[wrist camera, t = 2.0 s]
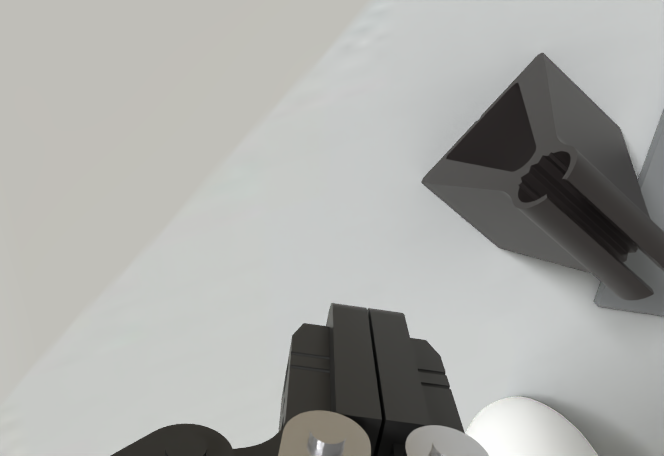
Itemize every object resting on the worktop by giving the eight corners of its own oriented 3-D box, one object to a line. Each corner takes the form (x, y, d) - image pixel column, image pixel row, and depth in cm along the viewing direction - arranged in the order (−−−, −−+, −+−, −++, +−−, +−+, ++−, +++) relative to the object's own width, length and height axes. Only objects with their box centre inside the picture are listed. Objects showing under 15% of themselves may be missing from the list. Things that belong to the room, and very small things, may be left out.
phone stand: (541, 51, 32) (658, 89, 21) (616, 126, 33) (764, 199, 22) (419, 180, 34) (466, 275, 23) (495, 244, 36) (573, 364, 25)
